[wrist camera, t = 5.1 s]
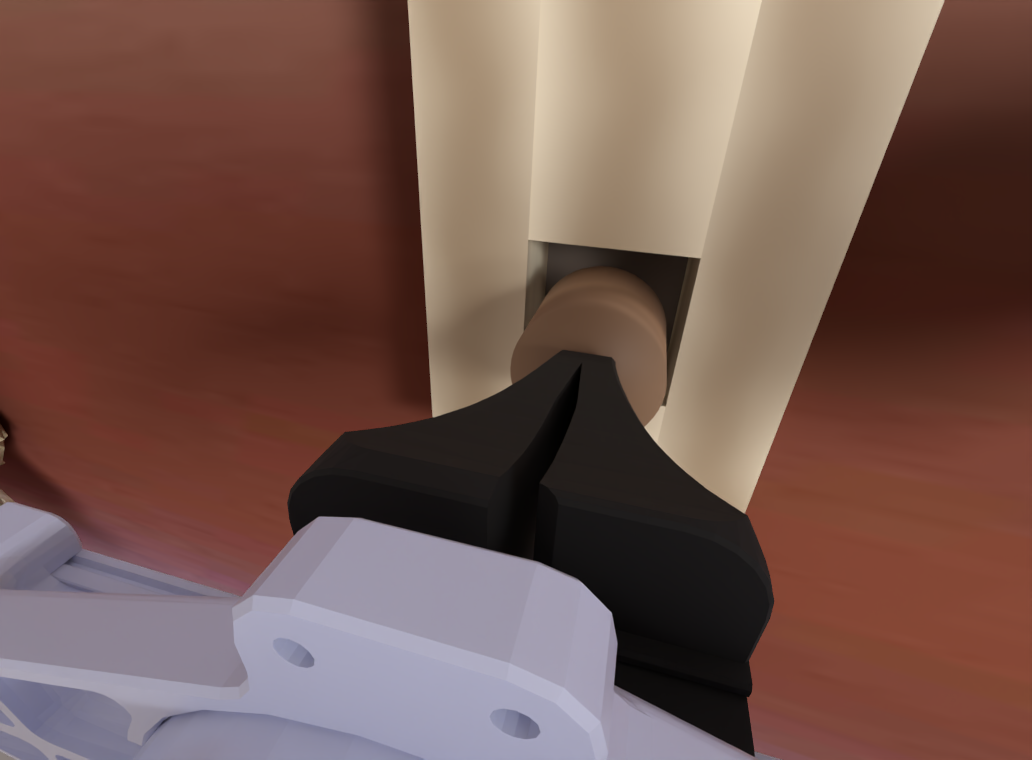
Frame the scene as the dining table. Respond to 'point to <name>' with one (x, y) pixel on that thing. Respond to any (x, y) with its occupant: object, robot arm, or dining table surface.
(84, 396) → the dining table surface
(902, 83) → the board
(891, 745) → the dining table surface
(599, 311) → the walnut peg
